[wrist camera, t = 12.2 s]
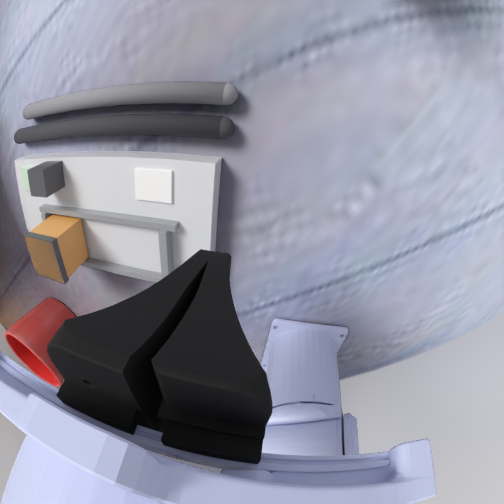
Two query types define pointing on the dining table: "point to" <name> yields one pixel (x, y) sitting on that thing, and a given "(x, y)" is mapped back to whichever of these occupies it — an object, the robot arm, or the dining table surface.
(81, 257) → the lever
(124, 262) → the white base panel
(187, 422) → the robot arm
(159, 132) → the cord
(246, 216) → the dining table surface
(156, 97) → the cord
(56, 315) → the flower pot
